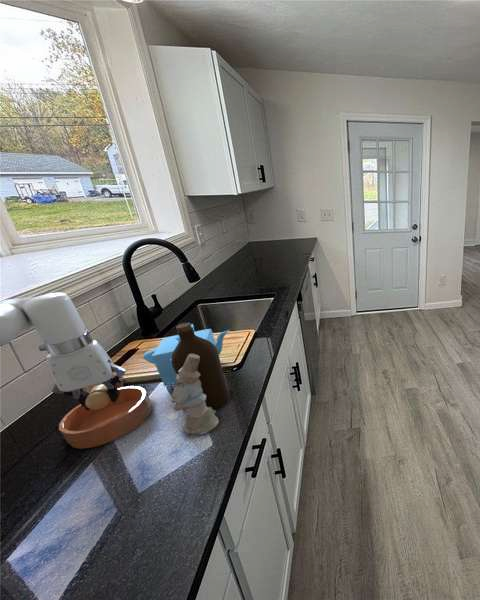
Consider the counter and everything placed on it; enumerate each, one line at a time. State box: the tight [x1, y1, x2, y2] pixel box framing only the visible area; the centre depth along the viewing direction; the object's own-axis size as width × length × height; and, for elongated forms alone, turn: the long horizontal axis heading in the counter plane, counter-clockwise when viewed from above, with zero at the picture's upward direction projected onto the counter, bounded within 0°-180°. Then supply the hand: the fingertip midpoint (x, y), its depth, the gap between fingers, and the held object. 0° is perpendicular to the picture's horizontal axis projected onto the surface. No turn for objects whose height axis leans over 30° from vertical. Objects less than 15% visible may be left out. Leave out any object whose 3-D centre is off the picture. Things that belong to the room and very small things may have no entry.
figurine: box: [170, 354, 220, 436], centre depth 78 cm, size 9×8×20 cm
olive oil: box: [171, 322, 231, 411], centre depth 85 cm, size 11×11×25 cm
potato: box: [85, 384, 110, 410], centre depth 82 cm, size 8×5×5 cm, turn 28°
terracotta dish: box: [58, 385, 153, 450], centre depth 84 cm, size 18×18×5 cm
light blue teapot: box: [142, 323, 231, 387], centre depth 101 cm, size 19×19×15 cm
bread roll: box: [83, 373, 126, 393], centre depth 97 cm, size 10×10×8 cm
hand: (103, 402), depth 83 cm, fingers closed on potato, 4 cm apart
